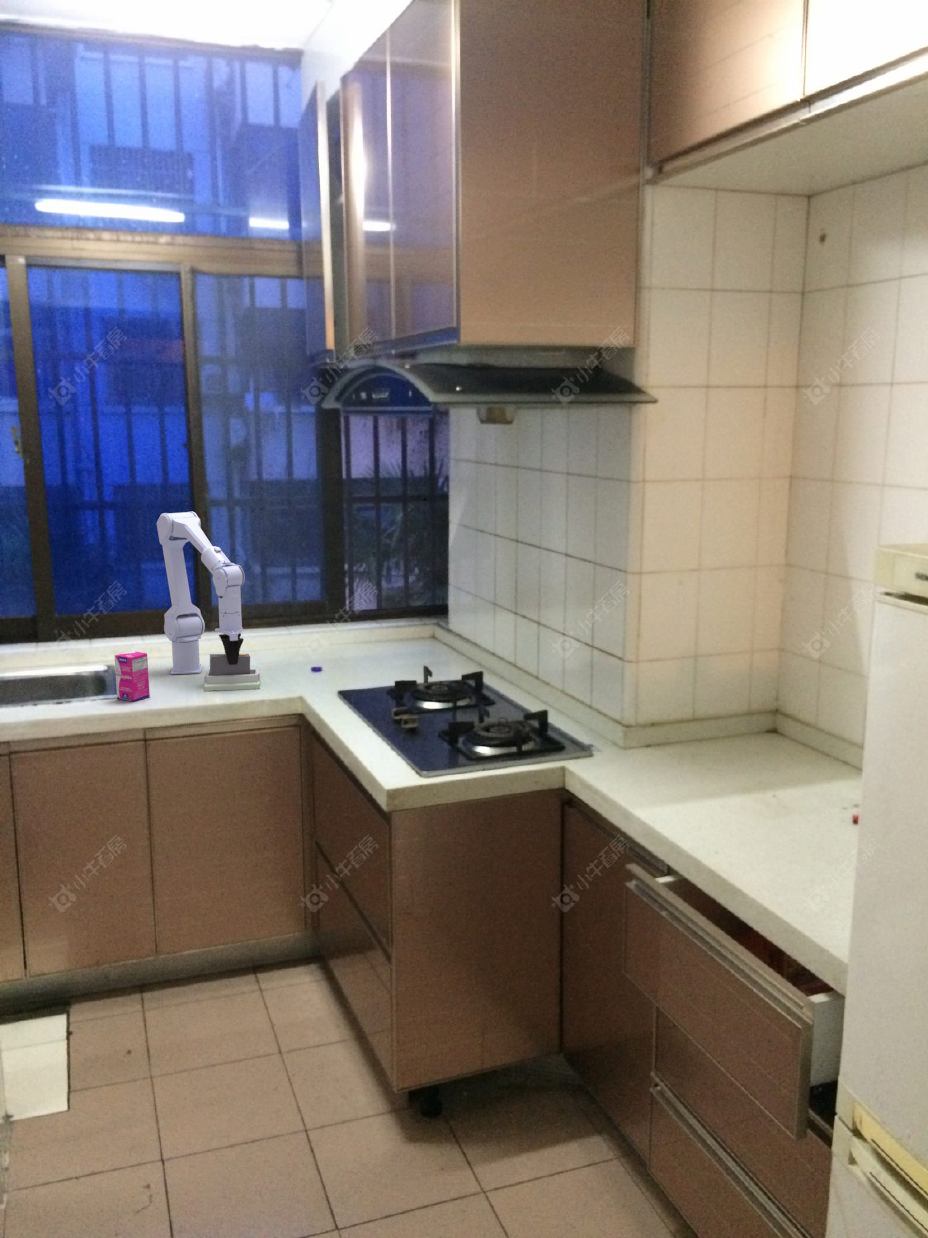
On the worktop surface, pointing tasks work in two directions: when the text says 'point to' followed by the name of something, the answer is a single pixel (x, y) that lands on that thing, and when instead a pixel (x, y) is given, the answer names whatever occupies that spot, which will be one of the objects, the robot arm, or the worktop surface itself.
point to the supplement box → (132, 676)
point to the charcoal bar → (222, 666)
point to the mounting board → (233, 681)
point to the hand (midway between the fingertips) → (232, 662)
